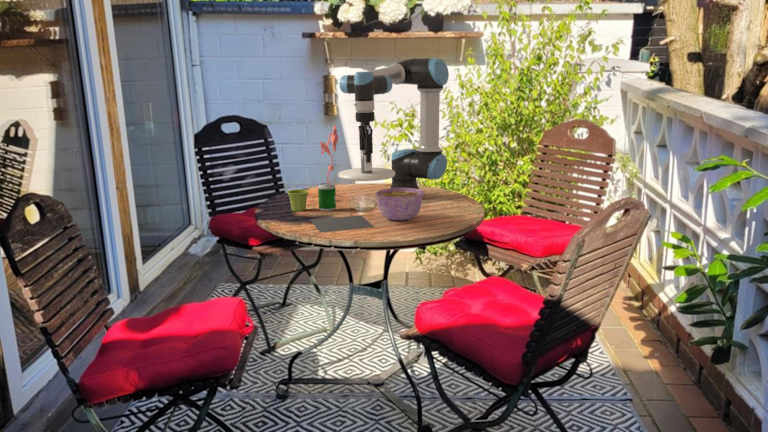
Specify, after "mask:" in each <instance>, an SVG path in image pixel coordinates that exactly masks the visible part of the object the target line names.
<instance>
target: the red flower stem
mask: <svg viewBox="0 0 768 432" xmlns="http://www.w3.org/2000/svg"><path fill="white" fill-rule="evenodd" d="M330 137H331V138H330ZM319 143H320V150H321V152H320V154H321V156H323V155H324V152H325V153H326V154H328V155H330V156H331V162H330V163H331V165H328V168H327V169H328V171H327V175H326V180H327V182H326V183H331V180H330V173H331V172H333V170H334V169H335V168H334V165H333V161H334V158H333V157H334V155H333V154H332V153H331V150H330V148H329V144H330V143H332V144H331V145H332V151H333V152H336V147H337V145H338V144H339V135H338V131H337V126H336V124H333V129H332V133H331V132H330V133H329V135H328V140H327V143H324V142H322V141H319ZM345 195H347V196H348V194H347V193H346V194H345Z"/></svg>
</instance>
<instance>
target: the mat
mask: <svg viewBox="0 0 768 432" xmlns="http://www.w3.org/2000/svg"><path fill="white" fill-rule="evenodd" d="M309 221H310V222H311V223H312V224H313V226H314V227H315V228H316V229H317V230H318V231H319V232H320V233H326V232H327V233H328V232H337V231H338V232H339V231H348V230H350V231H351V230H357V229H358V230H362V229H371V228H375V226H374V225H373V224H371V223H370V221H368V220H367V218H365V217H364V216H362V215H361V214H359V215H358V214H356V215H350V216H348V215H346V216H335V217H334V216H333V217H325V218H324V217H323V218H312V219H311V218H310V219H309Z"/></svg>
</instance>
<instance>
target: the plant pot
mask: <svg viewBox="0 0 768 432" xmlns="http://www.w3.org/2000/svg"><path fill="white" fill-rule="evenodd" d="M286 193H287V194H288V197H289V201H290V209H291V211H292V212H296V213H302V212H304V211H306V209H307V199H308V194H309V190H308V189H291V190H288V191H287V192H286Z"/></svg>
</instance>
